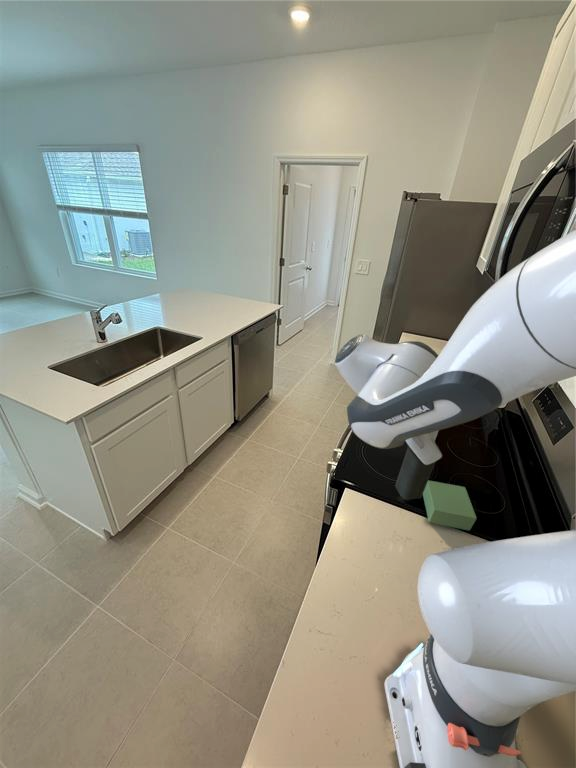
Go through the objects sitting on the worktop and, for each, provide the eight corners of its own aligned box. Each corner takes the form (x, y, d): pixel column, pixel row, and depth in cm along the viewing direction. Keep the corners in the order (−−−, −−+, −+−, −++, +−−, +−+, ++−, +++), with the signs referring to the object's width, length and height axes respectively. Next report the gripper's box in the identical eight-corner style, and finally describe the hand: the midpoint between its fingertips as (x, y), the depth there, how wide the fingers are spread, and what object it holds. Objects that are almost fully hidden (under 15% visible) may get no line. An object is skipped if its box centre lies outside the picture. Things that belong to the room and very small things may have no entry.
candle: (403, 501, 71) (436, 413, 59) (393, 484, 76) (421, 399, 63) (423, 498, 72) (459, 412, 60) (411, 481, 77) (442, 397, 64)
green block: (469, 530, 78) (476, 518, 76) (428, 522, 80) (434, 510, 77) (459, 499, 87) (465, 487, 84) (422, 492, 88) (427, 480, 86)
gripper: (427, 426, 51) (465, 471, 56) (394, 369, 69) (425, 408, 74) (394, 444, 54) (434, 486, 59) (370, 385, 71) (402, 421, 76)
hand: (428, 442), depth 66 cm, fingers closed on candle, 3 cm apart
